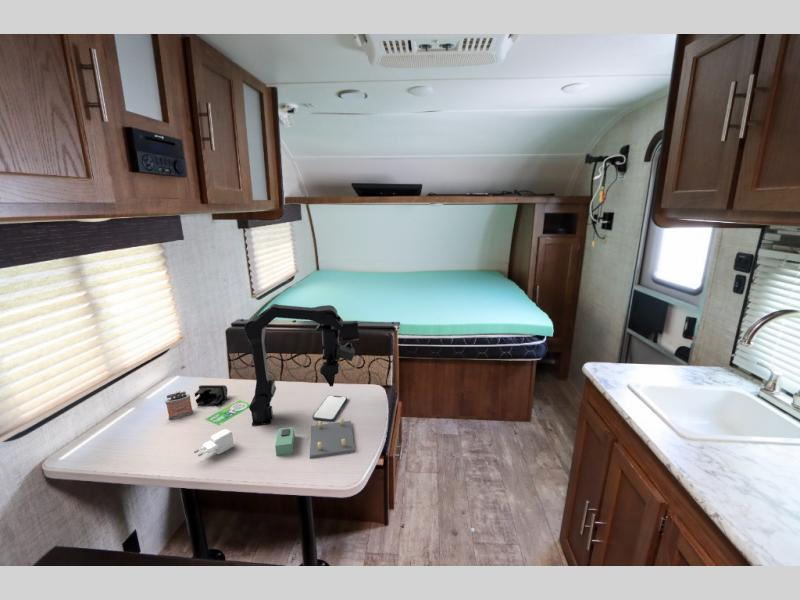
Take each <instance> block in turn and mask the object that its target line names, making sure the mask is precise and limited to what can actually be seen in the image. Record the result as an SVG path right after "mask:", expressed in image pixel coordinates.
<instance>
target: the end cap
mask: <svg viewBox="0 0 800 600" xmlns="http://www.w3.org/2000/svg"><path fill="white" fill-rule="evenodd" d="M194 397H195V398H196V397H197V398H196V399H195V404H196V405H197V407H220V406H222V404H223V403H224V402H225V401H226V399H227V397H228V387H227V385H225V384H222V385H219V384H218V385H217V384H213V385H212V384H211V385H210V384H209V385H207V384H206V385H205V384H202V385H201V384H200V385H198V390H197V391H196V392H195V393H194Z"/></svg>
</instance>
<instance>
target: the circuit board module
mask: <svg viewBox="0 0 800 600" xmlns="http://www.w3.org/2000/svg"><path fill="white" fill-rule="evenodd" d="M276 435H277V437H276V440H275V446H274V447H275V454H276V457H278V456H285V455H292V454H293V453H294V446H295V439H296V437H295V436H296V433H295V427H294V426H290V427H283V428H278V431H277V434H276Z"/></svg>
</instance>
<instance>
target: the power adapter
mask: <svg viewBox="0 0 800 600" xmlns="http://www.w3.org/2000/svg"><path fill="white" fill-rule="evenodd" d="M234 444H235V441H234V436H233V432H232V431H231V430H229V429H228V428H224V429H222V430H220V431H218V432H216V433H214V434H212V435H211V436H210V440H208V441H206V442H205V443H203V444H202V445H201V447H200V448H198V449H197V448H196V450H194V451H193V453H194V454H196V453H199V452H200V451H202V450H203V451H202V452H201V453H199V454H197V456H198V457H202V456H203V455H204V454H206V453H208V454H211V453H215V454H216V455H221V454H223V453H225V452H226V451H228V450H230V449H232V448H233V447H234Z"/></svg>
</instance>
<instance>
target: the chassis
mask: <svg viewBox="0 0 800 600" xmlns="http://www.w3.org/2000/svg"><path fill="white" fill-rule="evenodd" d="M322 422H323V421H317V424H314V425H313V424H312V425H311V426H310V444H309V459H315V458H320V457H321V458H322V457H328V456H335V455H341V454H342V455H344V454H348V453H355V445H354V436H353V427H352V420H346V421H344V418H343V417H342V418H339V421H338V422H328V423H322Z"/></svg>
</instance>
